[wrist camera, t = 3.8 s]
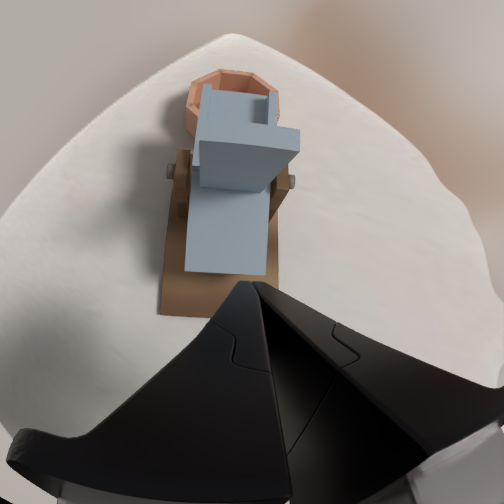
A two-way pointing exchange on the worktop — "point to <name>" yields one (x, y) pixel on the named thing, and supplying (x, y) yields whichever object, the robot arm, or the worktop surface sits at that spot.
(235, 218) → the catapult lever
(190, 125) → the orange octagonal bowl
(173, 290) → the stand
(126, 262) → the worktop surface
